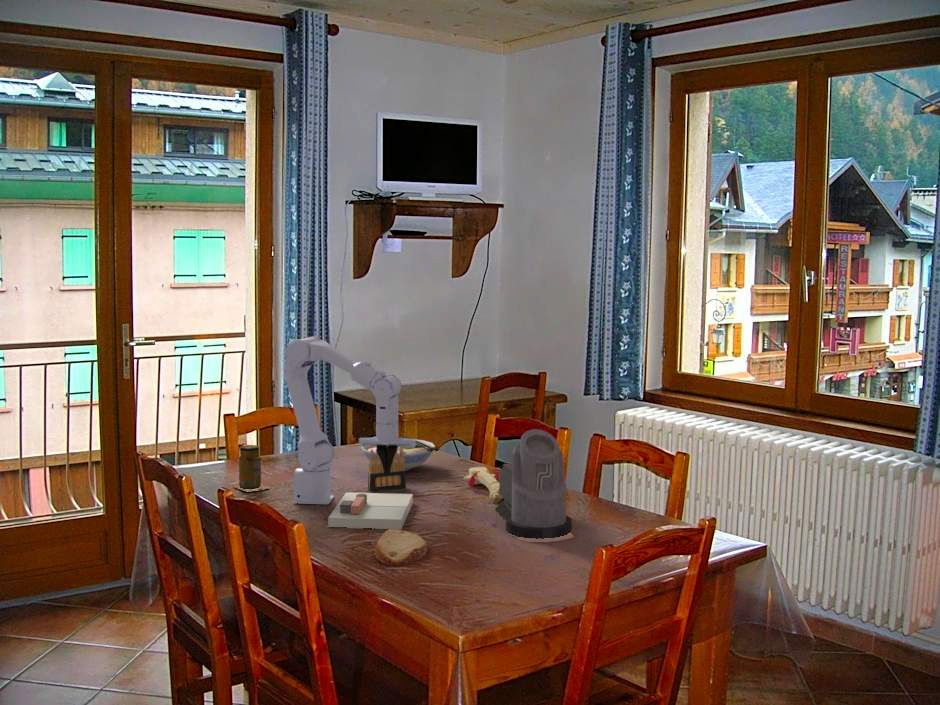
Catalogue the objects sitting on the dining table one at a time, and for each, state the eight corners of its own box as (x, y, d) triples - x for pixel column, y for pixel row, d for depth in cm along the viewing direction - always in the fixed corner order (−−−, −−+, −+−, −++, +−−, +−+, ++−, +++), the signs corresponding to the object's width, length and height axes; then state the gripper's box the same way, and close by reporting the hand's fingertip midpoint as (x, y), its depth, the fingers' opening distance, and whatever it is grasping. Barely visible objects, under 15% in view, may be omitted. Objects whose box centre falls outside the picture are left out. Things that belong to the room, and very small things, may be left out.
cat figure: (519, 506, 272) (490, 477, 295) (521, 475, 270) (491, 448, 294) (485, 509, 269) (457, 479, 292) (486, 478, 267) (458, 450, 291)
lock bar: (357, 501, 260) (357, 493, 260) (367, 501, 260) (367, 493, 260) (349, 513, 249) (349, 505, 248) (360, 513, 248) (360, 505, 248)
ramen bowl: (349, 464, 314) (349, 438, 313) (417, 457, 323) (417, 432, 322) (376, 482, 291) (376, 454, 290) (448, 475, 301) (448, 448, 300)
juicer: (582, 540, 238) (585, 439, 235) (517, 545, 234) (519, 442, 231) (544, 507, 267) (545, 416, 264) (485, 510, 263) (486, 418, 260)
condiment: (255, 484, 288) (255, 443, 287) (270, 490, 282) (269, 448, 280) (232, 488, 284) (231, 446, 282) (246, 494, 277) (245, 451, 276)
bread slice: (398, 535, 242) (398, 520, 241) (452, 551, 230) (452, 536, 229) (341, 552, 229) (341, 536, 228) (395, 570, 217) (395, 553, 216)
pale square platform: (328, 527, 246) (328, 508, 246) (346, 501, 270) (346, 484, 269) (401, 529, 245) (401, 510, 245) (412, 503, 269) (412, 486, 268)
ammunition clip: (369, 492, 280) (369, 449, 279) (367, 490, 282) (367, 448, 281) (405, 488, 285) (405, 446, 283) (403, 486, 286) (403, 445, 285)
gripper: (356, 424, 257) (357, 476, 259) (413, 425, 256) (413, 478, 258) (361, 419, 264) (361, 470, 266) (416, 420, 263) (416, 471, 265)
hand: (387, 473), depth 262 cm, fingers closed
